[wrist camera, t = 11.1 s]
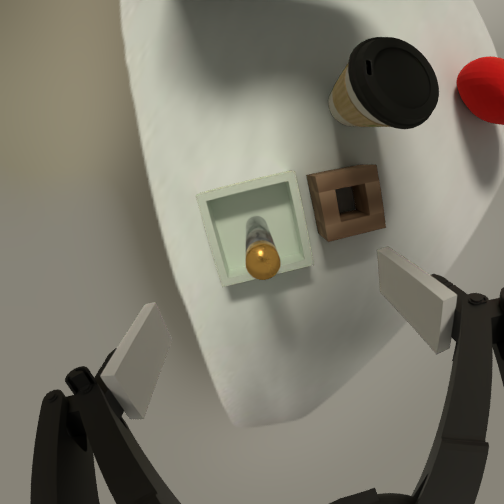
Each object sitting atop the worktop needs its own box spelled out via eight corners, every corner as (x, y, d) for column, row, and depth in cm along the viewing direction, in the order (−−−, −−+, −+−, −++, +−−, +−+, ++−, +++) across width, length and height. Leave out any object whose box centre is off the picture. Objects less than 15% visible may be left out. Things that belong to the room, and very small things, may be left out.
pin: (243, 218, 37) (241, 251, 23) (264, 213, 37) (276, 242, 22) (248, 238, 38) (250, 283, 23) (269, 233, 38) (283, 275, 23)
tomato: (443, 105, 33) (503, 94, 19) (447, 53, 30) (499, 32, 16) (489, 139, 34) (545, 141, 20) (492, 89, 31) (543, 81, 17)
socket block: (306, 175, 36) (315, 175, 31) (360, 164, 36) (376, 164, 31) (318, 232, 38) (328, 241, 33) (370, 220, 38) (385, 227, 33)
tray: (200, 192, 36) (195, 195, 33) (290, 170, 36) (294, 170, 32) (224, 276, 40) (222, 286, 36) (308, 256, 39) (313, 265, 36)
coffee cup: (381, 143, 35) (446, 136, 20) (315, 135, 35) (357, 116, 20) (379, 80, 32) (437, 48, 18) (314, 68, 32) (351, 20, 17)
